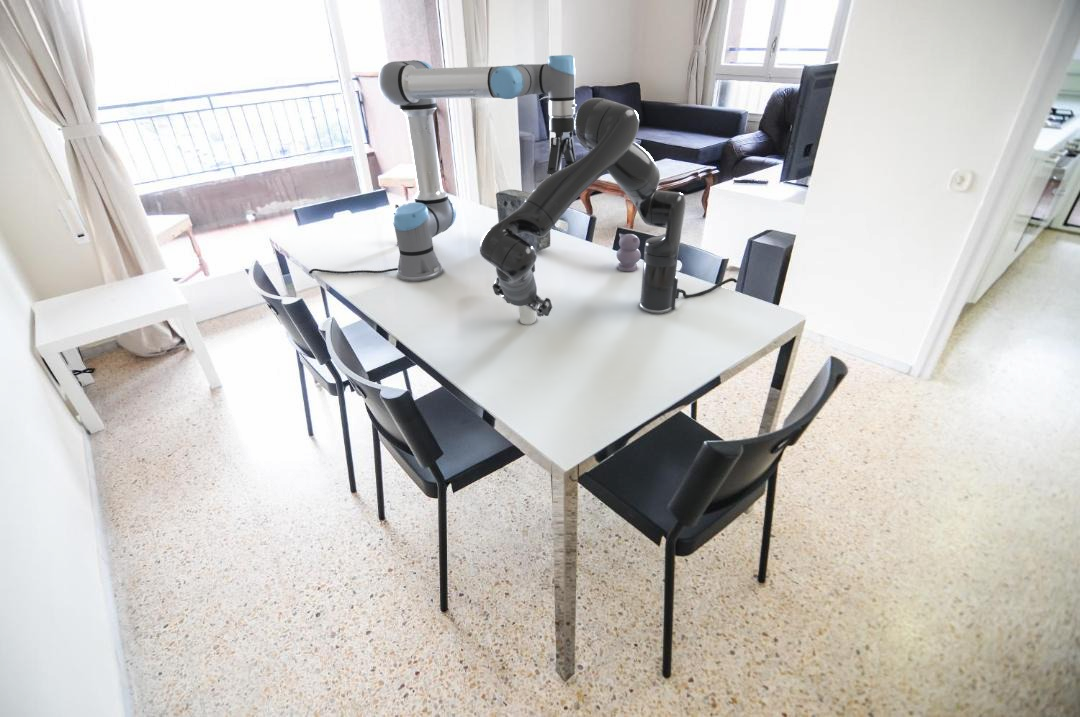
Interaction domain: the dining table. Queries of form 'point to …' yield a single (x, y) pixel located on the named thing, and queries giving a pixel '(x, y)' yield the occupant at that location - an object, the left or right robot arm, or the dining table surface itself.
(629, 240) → the cat figurine
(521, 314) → the cylinder
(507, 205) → the concrete block
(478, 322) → the dining table surface
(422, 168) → the left robot arm
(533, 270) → the lid
